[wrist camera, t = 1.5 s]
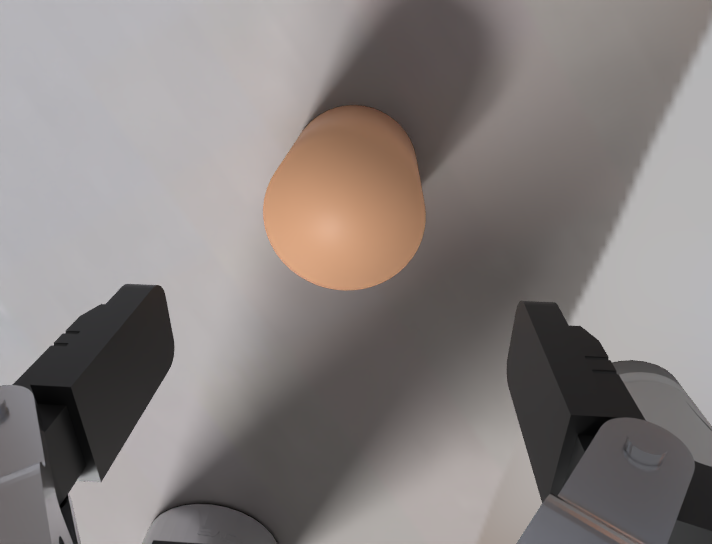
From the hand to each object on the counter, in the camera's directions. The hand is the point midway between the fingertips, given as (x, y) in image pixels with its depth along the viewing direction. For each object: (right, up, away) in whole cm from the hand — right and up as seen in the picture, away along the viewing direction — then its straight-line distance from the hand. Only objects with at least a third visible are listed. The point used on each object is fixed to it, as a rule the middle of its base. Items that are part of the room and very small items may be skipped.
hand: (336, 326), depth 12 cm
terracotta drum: (0, +6, +11) cm, 13 cm away
